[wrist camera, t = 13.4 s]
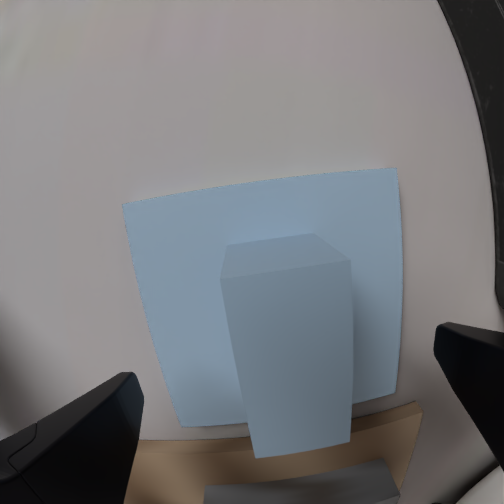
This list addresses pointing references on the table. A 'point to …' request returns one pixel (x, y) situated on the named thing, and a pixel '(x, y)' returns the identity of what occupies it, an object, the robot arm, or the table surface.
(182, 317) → the lid
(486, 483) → the coffee press
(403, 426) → the latch base
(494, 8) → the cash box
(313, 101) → the table surface
